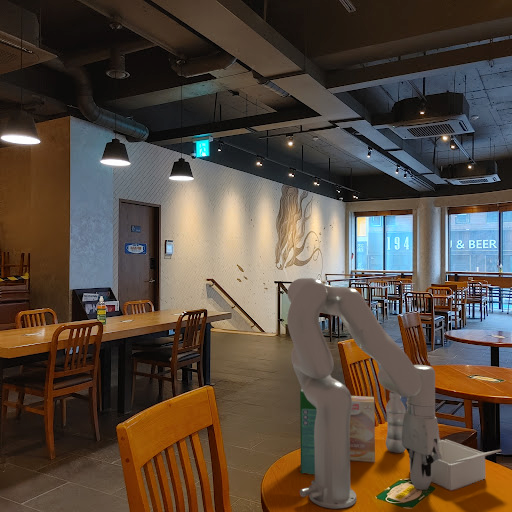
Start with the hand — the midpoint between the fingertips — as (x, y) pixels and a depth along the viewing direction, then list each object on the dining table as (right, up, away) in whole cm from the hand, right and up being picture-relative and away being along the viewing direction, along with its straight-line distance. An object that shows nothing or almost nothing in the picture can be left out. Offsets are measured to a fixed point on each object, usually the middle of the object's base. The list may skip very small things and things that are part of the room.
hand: (420, 474), depth 134 cm
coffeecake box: (-15, -5, +23) cm, 28 cm away
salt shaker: (0, -3, 0) cm, 3 cm away
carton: (+11, -4, +9) cm, 14 cm away
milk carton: (-28, -5, +14) cm, 31 cm away
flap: (+16, +6, 0) cm, 17 cm away
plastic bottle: (+1, -5, +28) cm, 28 cm away
